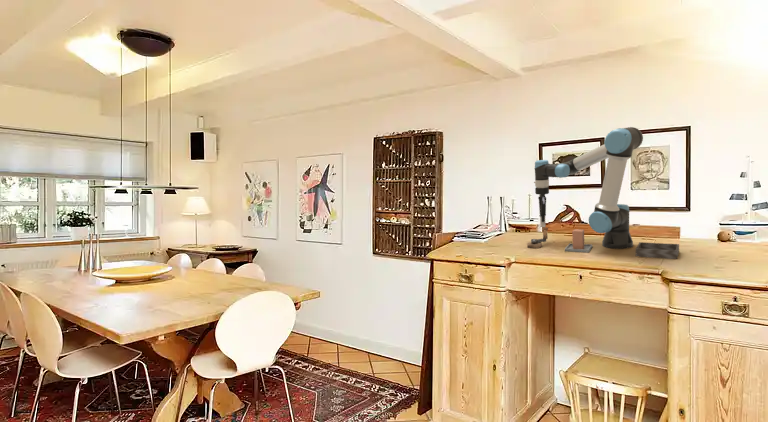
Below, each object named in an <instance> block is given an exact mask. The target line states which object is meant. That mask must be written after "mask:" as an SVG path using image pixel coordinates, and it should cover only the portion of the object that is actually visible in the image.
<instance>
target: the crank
mask: <svg viewBox="0 0 768 422" xmlns="http://www.w3.org/2000/svg"><path fill="white" fill-rule="evenodd" d="M548 230H549V227H541V231H542V238H538V239H537V238H531V239H530V242H531V243H539V242H541V243H545V242H547V239H548V237H549V236H548Z"/></svg>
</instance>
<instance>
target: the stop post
mask: <svg viewBox="0 0 768 422" xmlns="http://www.w3.org/2000/svg"><path fill="white" fill-rule="evenodd" d="M572 244H573V249H584V244H585V229H580V228H578V229H577V228H575V229H573V230H572Z"/></svg>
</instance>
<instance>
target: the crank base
mask: <svg viewBox="0 0 768 422" xmlns="http://www.w3.org/2000/svg"><path fill="white" fill-rule="evenodd" d="M526 246H527V248H528V249H540V248H542V247H543V242H539V243H531V241H529V242H527V243H526Z"/></svg>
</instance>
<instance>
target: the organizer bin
mask: <svg viewBox="0 0 768 422" xmlns="http://www.w3.org/2000/svg"><path fill="white" fill-rule="evenodd" d="M679 253H680V243H661V242H660V243H659V242H642V241H640V242H638V244H637V246H636V248H635V257H636V256H639V257H640V258H652V259H653V258H655V259H656V258H657V259H671V260H672V259H673V260H678V258H677V257H679ZM639 257H638V258H639Z"/></svg>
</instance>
